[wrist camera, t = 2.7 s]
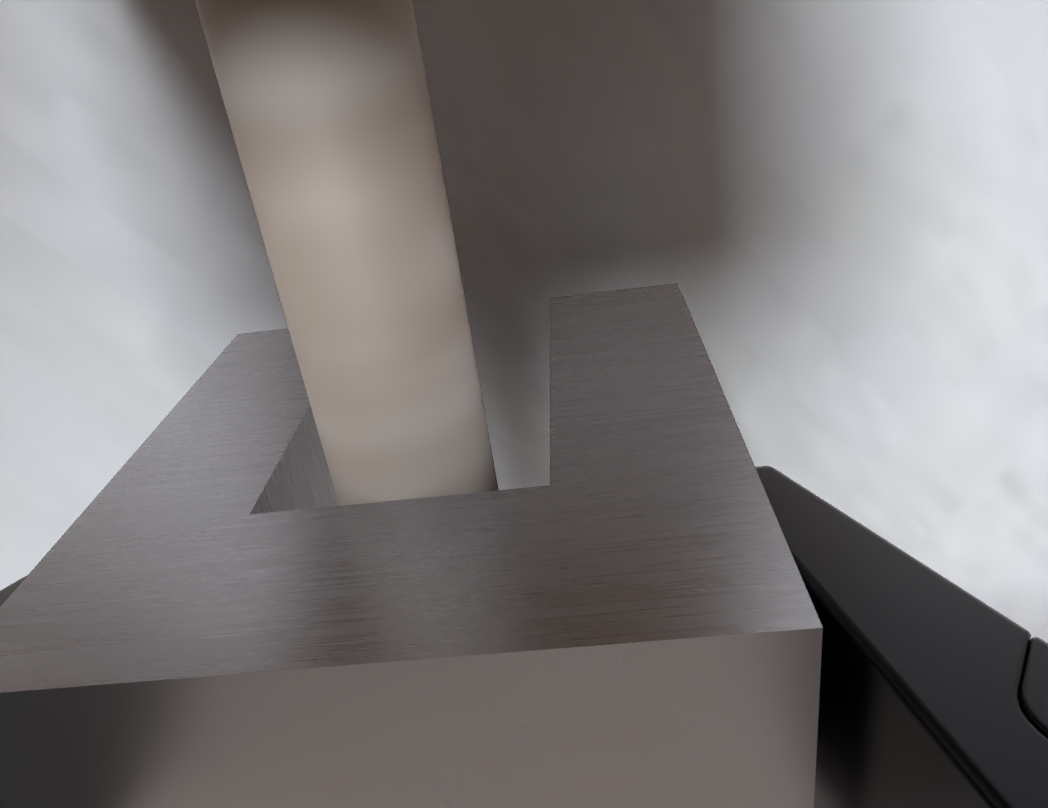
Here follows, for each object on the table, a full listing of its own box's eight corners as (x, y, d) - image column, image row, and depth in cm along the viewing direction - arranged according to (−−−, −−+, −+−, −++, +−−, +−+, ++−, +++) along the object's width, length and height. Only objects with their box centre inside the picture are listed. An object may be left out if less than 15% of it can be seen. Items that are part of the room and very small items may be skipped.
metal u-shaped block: (676, 283, 11) (823, 627, 5) (684, 437, 12) (811, 862, 6) (238, 334, 12) (-79, 699, 6) (283, 476, 13) (56, 905, 7)
